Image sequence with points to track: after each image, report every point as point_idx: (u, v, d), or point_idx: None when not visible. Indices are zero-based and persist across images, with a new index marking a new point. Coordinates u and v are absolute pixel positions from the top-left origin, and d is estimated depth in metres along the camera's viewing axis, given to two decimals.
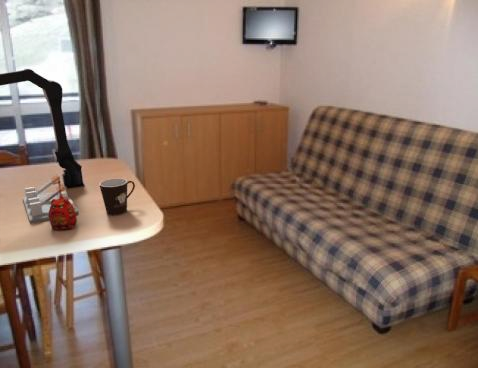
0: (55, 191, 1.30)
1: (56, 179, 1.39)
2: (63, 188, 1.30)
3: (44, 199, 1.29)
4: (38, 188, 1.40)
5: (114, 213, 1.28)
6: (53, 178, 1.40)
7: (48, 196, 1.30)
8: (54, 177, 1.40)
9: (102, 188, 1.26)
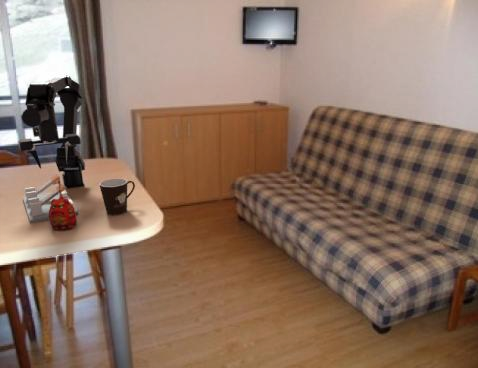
0: (55, 191, 1.30)
1: (56, 179, 1.39)
2: (63, 188, 1.30)
3: (44, 199, 1.29)
4: (38, 188, 1.40)
5: (114, 213, 1.28)
6: (53, 178, 1.40)
7: (48, 196, 1.30)
8: (54, 177, 1.40)
9: (102, 188, 1.26)
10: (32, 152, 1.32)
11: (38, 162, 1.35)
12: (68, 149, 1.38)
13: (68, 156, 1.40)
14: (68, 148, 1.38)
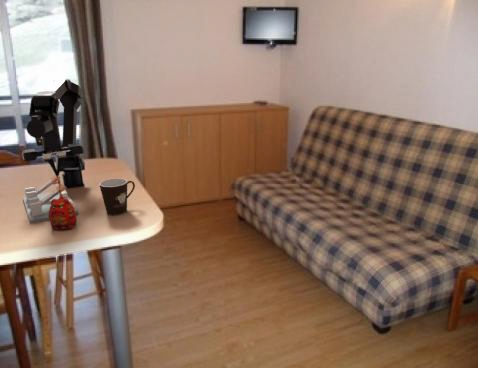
0: (55, 191, 1.30)
1: (56, 179, 1.39)
2: (63, 188, 1.30)
3: (44, 199, 1.29)
4: (38, 188, 1.40)
5: (114, 213, 1.28)
6: (53, 178, 1.40)
7: (48, 196, 1.30)
8: (54, 177, 1.41)
9: (102, 188, 1.26)
10: (49, 160, 1.36)
11: (55, 170, 1.39)
12: (59, 161, 1.37)
13: (58, 167, 1.39)
14: (58, 160, 1.37)
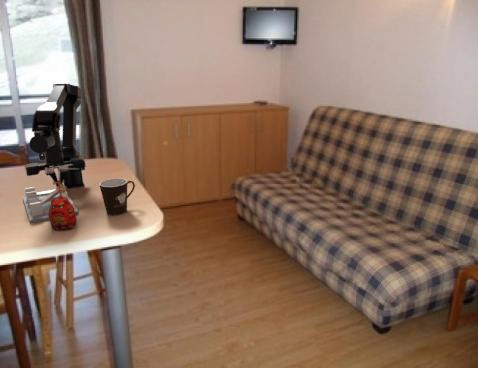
0: (55, 191, 1.30)
1: (62, 191, 1.41)
2: (63, 188, 1.30)
3: (44, 199, 1.29)
4: None
5: (114, 213, 1.28)
6: None
7: (48, 196, 1.30)
8: None
9: (102, 188, 1.26)
10: (52, 174, 1.37)
11: (57, 184, 1.40)
12: (61, 174, 1.39)
13: (61, 181, 1.40)
14: (60, 173, 1.39)
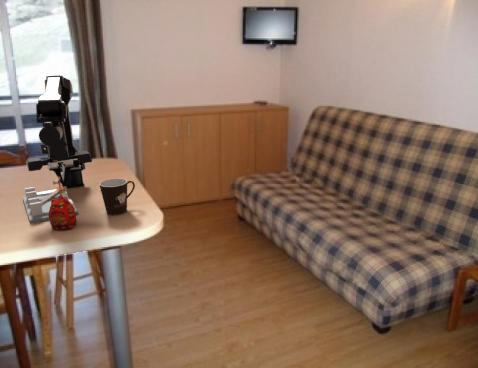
0: (55, 191, 1.30)
1: None
2: (64, 189, 1.30)
3: (44, 199, 1.29)
4: None
5: (114, 213, 1.28)
6: None
7: (48, 196, 1.30)
8: None
9: (102, 188, 1.26)
10: (55, 170, 1.26)
11: (61, 180, 1.29)
12: (66, 170, 1.28)
13: (65, 177, 1.29)
14: (65, 169, 1.28)
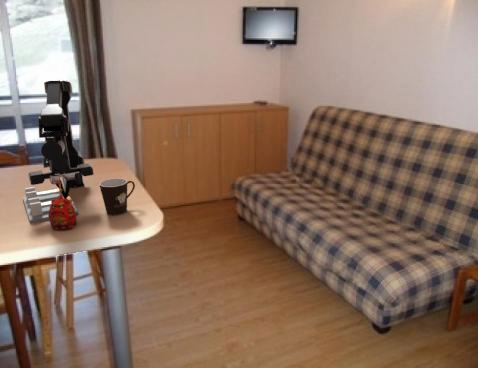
0: None
1: None
2: (70, 201, 1.32)
3: (47, 203, 1.30)
4: None
5: (114, 213, 1.28)
6: None
7: None
8: None
9: (102, 188, 1.26)
10: None
11: (63, 193, 1.30)
12: (67, 183, 1.29)
13: (67, 190, 1.31)
14: (67, 182, 1.29)
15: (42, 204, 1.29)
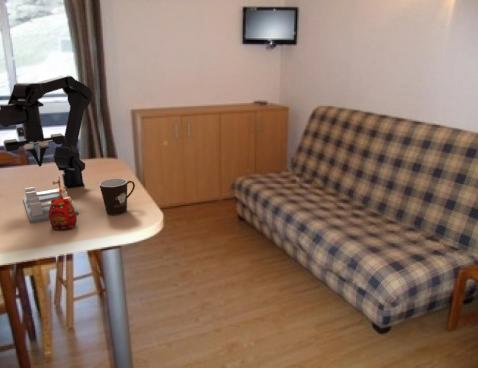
0: None
1: (62, 191, 1.41)
2: (70, 201, 1.32)
3: (47, 203, 1.30)
4: None
5: (114, 213, 1.28)
6: None
7: None
8: None
9: (102, 188, 1.26)
10: (31, 150, 1.35)
11: (37, 160, 1.38)
12: (41, 151, 1.37)
13: (41, 158, 1.39)
14: (41, 150, 1.37)
15: (42, 204, 1.29)
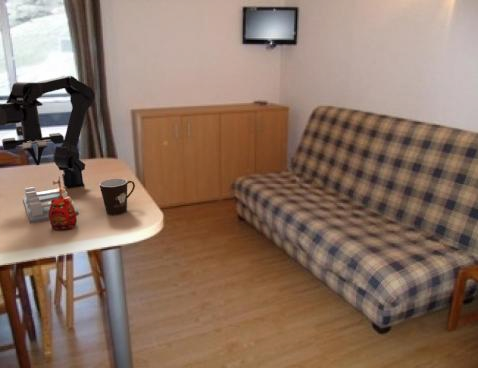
0: None
1: (62, 191, 1.41)
2: (70, 201, 1.32)
3: (47, 203, 1.30)
4: None
5: (114, 213, 1.28)
6: None
7: None
8: None
9: (102, 188, 1.26)
10: (29, 149, 1.36)
11: (35, 159, 1.39)
12: (39, 150, 1.38)
13: (39, 157, 1.39)
14: (38, 149, 1.37)
15: (42, 204, 1.29)
